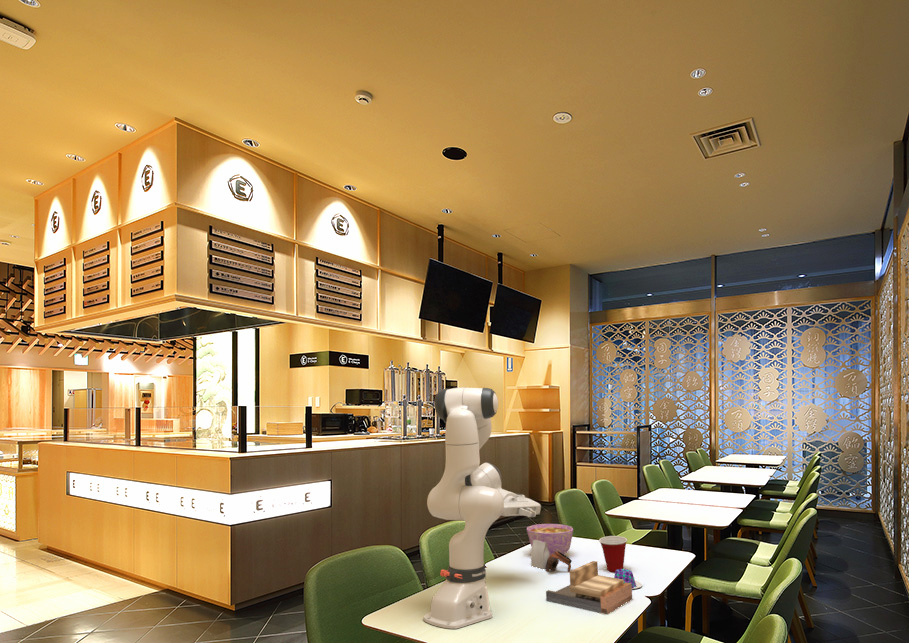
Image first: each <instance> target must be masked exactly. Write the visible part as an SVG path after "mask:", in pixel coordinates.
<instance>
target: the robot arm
mask: <svg viewBox="0 0 909 643" xmlns="http://www.w3.org/2000/svg"><path fill="white" fill-rule="evenodd" d="M498 408H499V399H498V396H497V394H496V392H495V390H493V389H492V388H488V387H483V388H481V387H466V386H465V387H464V386H463V387H453V388H444V389H441V390H439V391H437V393H436V394H435V397H434V409H435V413H436V415H437V416H438V418H440V419H441V420H443V422H444V424H445V434H444V441H445V442H444V443H445V467H444V472H443V474H442V477H441V479H440V481H439V482H438V483H437V484H436V486H434V487H432V489H431V490H430V492H429V493H428V495H427V499H426V501H427V502H426V505H427V509H428V512H429V513H430V515H431V516H432V517H435V518H438V519H442V520H447V521H461V522H463V521H464V529H463V530H460V531H459V532H456V533H455V534H454V535H453V536H452V537H451V538H450V539H449V542H448V550H449V553H448V554H449V558H448V559H449V562H448V563H449V565H448V567H447V569H441V570H440V572H439V575H440V576H441V577H445V581H443V583H442V585H440V588H438V590H437V592H436V593H435V594H434V595H433V597H432V599H431V603H430V604H431V605H430V611H429V612H427V613H426V614H424V615H423V617H422V618H423V619H422V620H423V621H424V622H426V623H427V624H429V625H432V626H436V627H439V628H442V629H443V628H444V629H450V630H451V629H452V630H454V629H456V630H457V629H460V628H463V627H467V626H469V625H472V624H473V625H474V624H476V623H479V622H482V621H486V620H489V619H492V618H493V613H492V611H491V607H490V599H489V591H488V588H487V584H486V581H485V579H486V574H487V573H486V571H487V570H486V565H485V563H484V562H485V558H484V557H485V555H484V553H485V552H484V551H485V550H484V548H485V539H486V535H487V533H488V531H489V528H490V527H491V526H492V525H493V523H495V522H496V521H497V520H498V519H499V518H500V517H501V516H502V517H516V516H517V517H518V516H524V517H527V518H535V517H536V515H541V514H540V513H541V509H542V505H541V504H540V503H539V502H537V501H535V500H533V499H531V498H528V497H526V495H524V494H523V493H522V494H521V493H514V492H512V491H508V490H506V489H504V488H502V487H503V479H502V478H503V477H502V473H501V471H500V469H499V467H498V466H496V465H494V464H493V463H490V462H483V463H482V464H481V460H480V459H481V458H480V450H481V449H482V447H483V446H484V445H485V444H486V443H487V442H488V441H489V439H490V437H491V434H492V429H493V428H492V420H491V418H494V416H496V414H497V411H498ZM480 464H481V465H480Z"/></svg>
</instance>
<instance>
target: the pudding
mask: <svg viewBox="0 0 909 643" xmlns="http://www.w3.org/2000/svg"><path fill="white" fill-rule="evenodd" d="M633 573H634V572H632V570H631V569H629V568H628V569H626V568H623V569H618V570H616V571H615V573H614V576H613V578H617V579H623V580H624V583H631V585H632V590H635V589H638V588H641V587H642V586H643V584H642V583H641V582H639V581H638V580H635V577H634V574H633Z"/></svg>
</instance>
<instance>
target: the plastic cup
mask: <svg viewBox="0 0 909 643" xmlns="http://www.w3.org/2000/svg"><path fill="white" fill-rule="evenodd" d="M598 542H599V543H600V545H601V549H602V551H603V557H604V562H605V565H606V569H607V571H608V572H610V573H614V574H615V571H616V570H618V569H624V564H625V556H626V554H625V553H626V546H627V542H628V539H627V538H626V537H624V536H619V535H609V536H603V537H601V538H599V540H598Z"/></svg>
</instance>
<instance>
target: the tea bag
mask: <svg viewBox="0 0 909 643" xmlns="http://www.w3.org/2000/svg"><path fill="white" fill-rule="evenodd" d="M548 558H549V550H548V548H547V545H546V542H541V541H537V540H533V545H532V547H531V549H530V565H531V567H532V566H533V567H532V568H536V567H537V569H539V568H540V570H543V569H544V570H546V569H545V568H546V563H547V560H548Z"/></svg>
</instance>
